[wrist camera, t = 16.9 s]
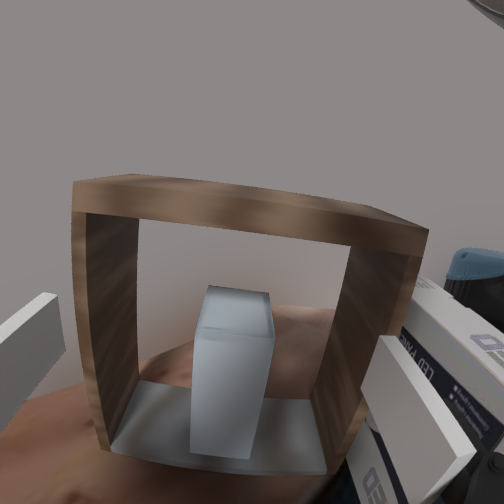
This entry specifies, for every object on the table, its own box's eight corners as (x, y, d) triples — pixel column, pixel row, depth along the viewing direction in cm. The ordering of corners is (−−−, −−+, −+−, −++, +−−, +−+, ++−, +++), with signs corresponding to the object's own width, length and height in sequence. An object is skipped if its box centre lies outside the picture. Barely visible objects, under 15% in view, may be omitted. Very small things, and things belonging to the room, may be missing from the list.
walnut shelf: (316, 405, 38) (369, 206, 31) (335, 474, 27) (429, 229, 20) (131, 383, 37) (132, 173, 30) (101, 448, 25) (73, 181, 18)
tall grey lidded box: (248, 403, 36) (268, 292, 32) (249, 459, 27) (275, 338, 23) (199, 397, 36) (208, 285, 32) (189, 452, 27) (195, 329, 23)
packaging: (319, 381, 44) (353, 250, 38) (356, 381, 44) (395, 256, 39) (380, 568, 14) (531, 413, 9) (434, 550, 15) (574, 392, 10)
